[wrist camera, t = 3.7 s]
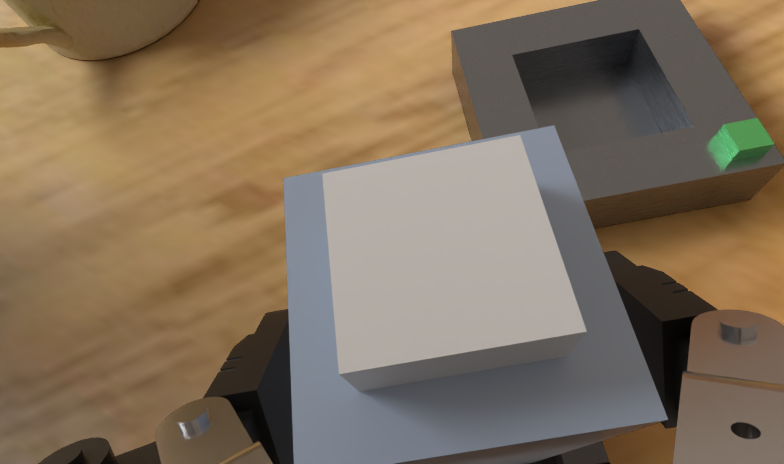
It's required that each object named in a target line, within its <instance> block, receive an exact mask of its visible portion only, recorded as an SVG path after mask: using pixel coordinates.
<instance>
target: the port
mask: <svg viewBox="0 0 784 464" xmlns="http://www.w3.org/2000/svg"><path fill="white" fill-rule="evenodd" d="M451 39H452V70H453V75H454V79H455V82H456V86H457V90H458V93H459V97H460V100H461V104H462V108H463V111H464V115H465V119H466V122H467V126H468V129H469V133H470V137H471V140H472V141H476V140H481V139H487V138H492V137H497V136H502V135H507V134H512V133H517V132H522V131H527V130H533V129H538V128H543V127H548V126H553V125H554V126H555V129H556V131H557V134H558V137H559V139H560V142H561V144H562V147H563V149H564V152H565V155H566V157H567V160H568V162H569V165H570V167H571V170H572V173H573V175H574V178H575V180H576V183H577V186H578V188H579V191H580V193H581V196H582V198H583V201H584V204H585V206H586V209H587V211H588V214H589V216H590V219H591V222H592V224H593V227H594V228H598V227H604V226H609V225H615V224H620V223H626V222H631V221H636V220H642V219H647V218H653V217H658V216H664V215H669V214H675V213H680V212H686V211H691V210H696V209H702V208H707V207H713V206H718V205H724V204H729V203H735V202H740V201H746V200H750V199H751V198H752V197H753V196H754V195H755V194H756V193H757V192H758V191H759V190H760V189H761V188H762V187H763V186H764V185H765V184H766V183H767V182H768V181H769V180H770V179H771V178H772V177H773V176H774V175H775V174H776V173H777V172H778V171H779V170H780V169H781V168H782V167H783V166H784V158H783V156H782V155H781V153H780V152H779V150H778V149H777V147H776V145H775V144H774V142H773V141H772V139H771V138H770V136H769V135H768V133H767V132H766V130H765V128H764V127H763V125H762V124H761V122H760V121H759V119H758V118H757V117H756V115H755V113H754V112H753V110H752V109H751V107H750V106H749V104H748V103H747V101H746V100H745V98H744V97H743V95H742V94H741V92H740V91H739V89H738V88H737V86H736V85H735V83H734V82H733V80H732V78H731V77H730V75H729V74H728V72H727V71H726V69H725V68H724V66H723V65H722V63H721V62H720V60H719V59H718V57H717V56H716V54H715V53H714V51H713V50H712V48H711V46H710V45H709V43H708V42H707V40H706V39H705V37H704V36H703V34H702V33H701V31H700V30H699V28H698V27H697V25H696V24H695V22H694V21H693V19H692V18H691V16H690V14H689V13H688V11H687V10H686V8H685V7H684V5H683V4H682V2H681V1H680V0H598V1H593V2H588V3H583V4H578V5H574V6H569V7H564V8H559V9H554V10H550V11H545V12H540V13H535V14H531V15H526V16H521V17H516V18H511V19H507V20H502V21H497V22H492V23H487V24H483V25H478V26H473V27H468V28H464V29H459V30H454V31H451Z"/></svg>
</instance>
